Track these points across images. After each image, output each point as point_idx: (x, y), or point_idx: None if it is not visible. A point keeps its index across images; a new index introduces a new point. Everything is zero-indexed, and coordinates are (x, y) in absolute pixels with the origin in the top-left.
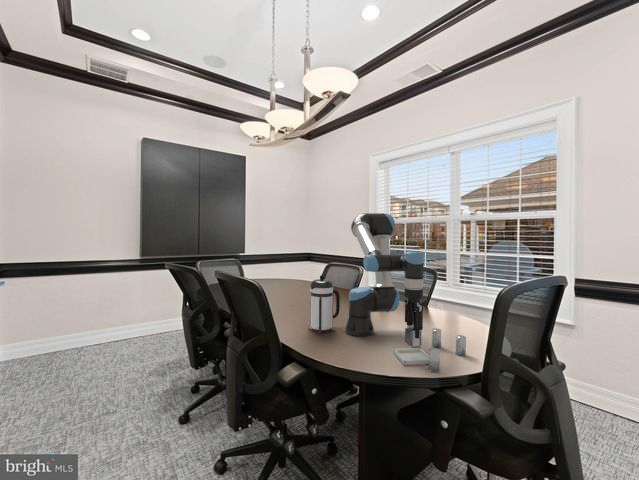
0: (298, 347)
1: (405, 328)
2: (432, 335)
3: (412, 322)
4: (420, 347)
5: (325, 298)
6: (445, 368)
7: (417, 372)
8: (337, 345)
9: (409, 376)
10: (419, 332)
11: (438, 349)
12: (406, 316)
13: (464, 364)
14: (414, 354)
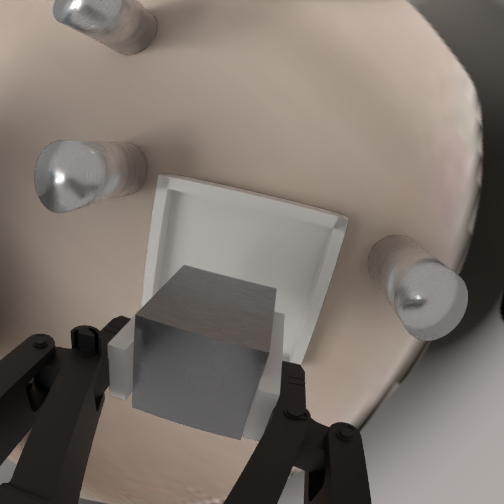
0: (87, 493)
1: (139, 407)
2: (89, 35)
3: (97, 375)
4: (134, 150)
5: None
6: (402, 188)
7: (373, 347)
8: None
9: (381, 391)
10: (279, 378)
11: (446, 275)
12: (31, 422)
13: (394, 54)
14: (202, 242)
